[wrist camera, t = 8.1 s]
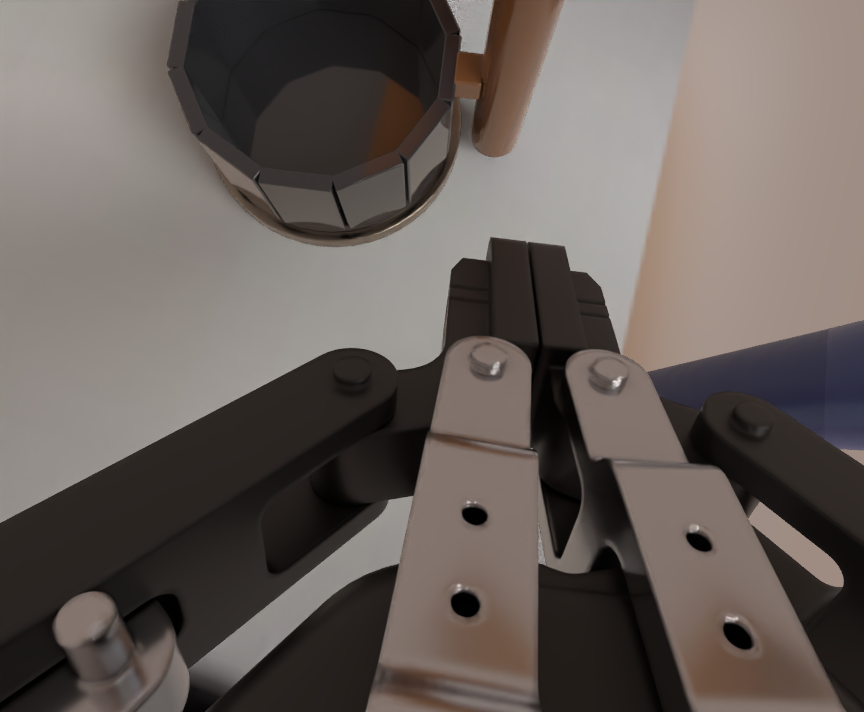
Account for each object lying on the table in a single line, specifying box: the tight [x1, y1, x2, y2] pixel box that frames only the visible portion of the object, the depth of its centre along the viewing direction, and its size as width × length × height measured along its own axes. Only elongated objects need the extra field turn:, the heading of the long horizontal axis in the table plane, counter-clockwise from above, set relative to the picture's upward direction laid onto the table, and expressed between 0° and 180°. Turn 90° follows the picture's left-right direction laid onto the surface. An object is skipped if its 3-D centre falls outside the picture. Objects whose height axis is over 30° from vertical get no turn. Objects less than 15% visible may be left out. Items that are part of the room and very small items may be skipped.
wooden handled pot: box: [167, 0, 565, 232], centre depth 19 cm, size 13×10×12 cm
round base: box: [213, 97, 461, 247], centre depth 26 cm, size 11×11×1 cm
